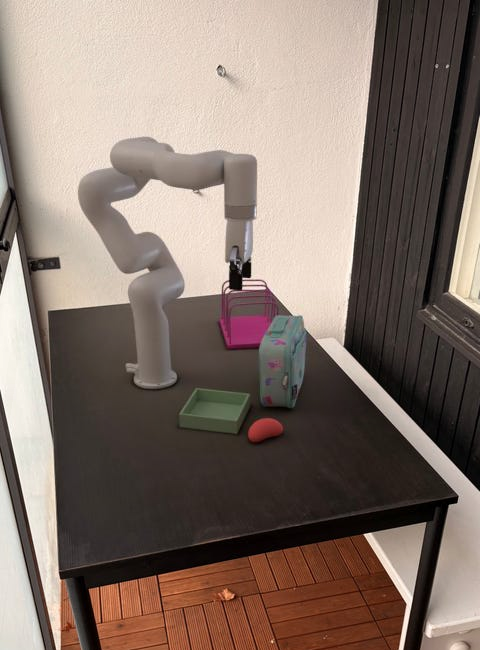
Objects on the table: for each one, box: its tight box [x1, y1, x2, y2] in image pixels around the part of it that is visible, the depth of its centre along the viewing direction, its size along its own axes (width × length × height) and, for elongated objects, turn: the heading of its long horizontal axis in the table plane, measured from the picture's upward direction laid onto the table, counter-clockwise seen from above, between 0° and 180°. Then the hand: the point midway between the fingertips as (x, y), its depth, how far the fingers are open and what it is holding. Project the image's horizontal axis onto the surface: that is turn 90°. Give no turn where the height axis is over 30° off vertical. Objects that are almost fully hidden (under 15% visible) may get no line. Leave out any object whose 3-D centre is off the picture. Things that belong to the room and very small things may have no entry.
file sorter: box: [218, 278, 280, 350], centre depth 217 cm, size 17×25×16 cm
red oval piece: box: [247, 417, 284, 443], centre depth 161 cm, size 5×9×6 cm, turn 110°
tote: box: [178, 387, 251, 435], centre depth 170 cm, size 15×15×4 cm
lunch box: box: [258, 314, 307, 409], centre depth 177 cm, size 27×10×21 cm, turn 168°
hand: (240, 283), depth 159 cm, fingers open, 9 cm apart
